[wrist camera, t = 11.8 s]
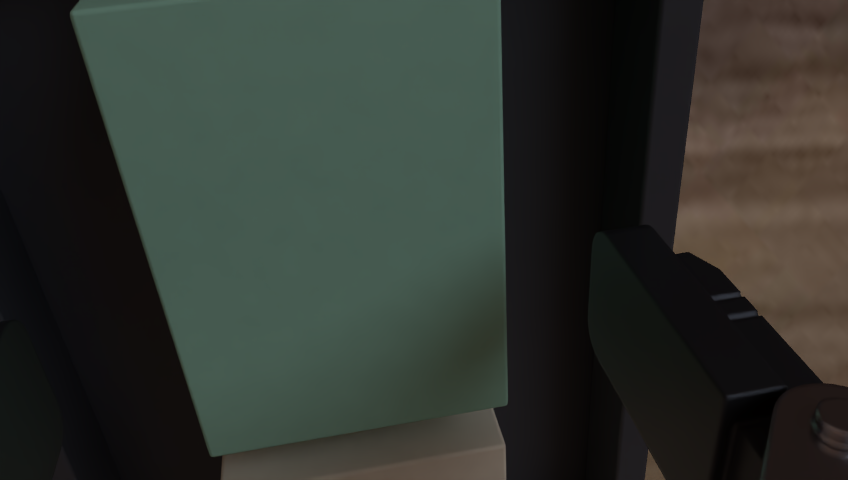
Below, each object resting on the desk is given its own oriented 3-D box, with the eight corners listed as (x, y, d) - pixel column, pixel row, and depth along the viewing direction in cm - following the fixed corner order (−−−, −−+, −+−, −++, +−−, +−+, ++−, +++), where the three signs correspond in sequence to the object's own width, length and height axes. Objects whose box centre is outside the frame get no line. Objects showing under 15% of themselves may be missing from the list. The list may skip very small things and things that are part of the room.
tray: (154, 607, 23) (142, 694, 20) (-169, -126, 12) (-260, -102, 10) (600, 522, 24) (631, 594, 22) (658, -203, 13) (730, -196, 11)
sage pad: (221, 322, 17) (209, 459, 14) (119, -54, 13) (66, 11, 9) (464, 284, 18) (509, 407, 14) (443, -88, 13) (501, -38, 10)
